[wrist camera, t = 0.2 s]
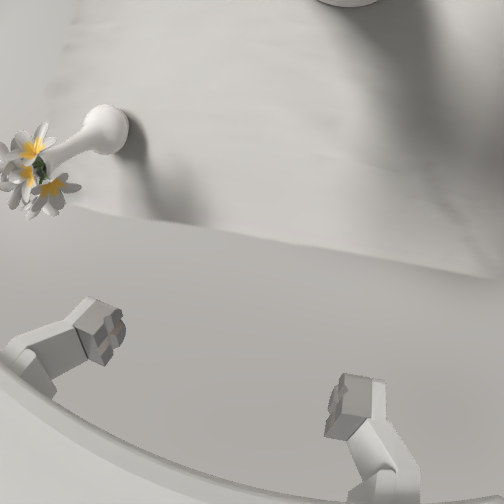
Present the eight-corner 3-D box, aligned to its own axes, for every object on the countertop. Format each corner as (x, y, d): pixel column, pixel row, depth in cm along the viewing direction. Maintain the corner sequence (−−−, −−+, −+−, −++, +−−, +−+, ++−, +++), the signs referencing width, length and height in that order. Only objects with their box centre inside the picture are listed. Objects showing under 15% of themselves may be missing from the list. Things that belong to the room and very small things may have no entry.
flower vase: (74, 101, 48) (-31, 153, 29) (149, 84, 44) (27, 133, 24) (88, 161, 56) (-4, 227, 37) (161, 156, 51) (61, 236, 32)
